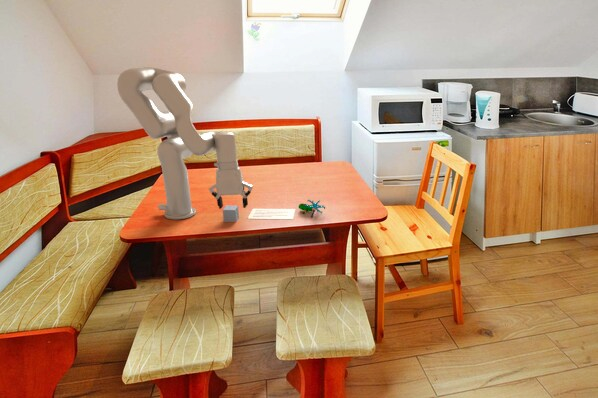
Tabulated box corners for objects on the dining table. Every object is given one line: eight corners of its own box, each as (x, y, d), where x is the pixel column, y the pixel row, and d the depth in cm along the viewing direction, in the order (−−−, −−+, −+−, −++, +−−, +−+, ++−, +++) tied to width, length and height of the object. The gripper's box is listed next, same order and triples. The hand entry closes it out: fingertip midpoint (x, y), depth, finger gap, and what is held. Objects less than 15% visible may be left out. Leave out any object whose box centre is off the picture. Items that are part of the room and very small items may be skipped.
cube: (223, 221, 166) (222, 209, 164) (226, 216, 170) (225, 205, 169) (236, 221, 165) (235, 210, 164) (239, 217, 170) (238, 205, 168)
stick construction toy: (329, 207, 171) (319, 196, 166) (325, 222, 167) (315, 210, 163) (304, 210, 178) (295, 199, 173) (300, 224, 174) (290, 213, 169)
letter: (247, 218, 168) (247, 218, 168) (252, 208, 178) (252, 208, 178) (292, 219, 166) (292, 219, 166) (295, 209, 176) (295, 209, 176)
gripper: (202, 168, 157) (209, 211, 163) (248, 166, 156) (252, 210, 161) (208, 163, 165) (214, 204, 170) (252, 161, 163) (256, 203, 168)
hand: (233, 207), depth 166 cm, fingers open, 9 cm apart
